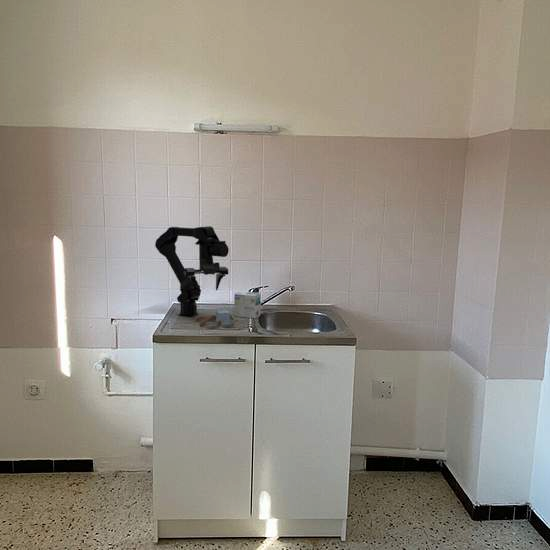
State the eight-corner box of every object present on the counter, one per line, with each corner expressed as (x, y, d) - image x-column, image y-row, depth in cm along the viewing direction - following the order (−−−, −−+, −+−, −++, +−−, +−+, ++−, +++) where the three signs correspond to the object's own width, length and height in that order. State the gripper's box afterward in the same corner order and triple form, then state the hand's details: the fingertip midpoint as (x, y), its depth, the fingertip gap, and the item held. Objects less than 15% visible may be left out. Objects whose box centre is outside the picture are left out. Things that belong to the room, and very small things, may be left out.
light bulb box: (260, 315, 223) (261, 292, 221) (255, 319, 216) (256, 295, 214) (239, 313, 226) (239, 290, 224) (233, 316, 220) (233, 293, 218)
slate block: (218, 324, 205) (218, 313, 205) (215, 321, 210) (216, 310, 209) (230, 323, 207) (230, 312, 206) (227, 320, 212) (227, 309, 211)
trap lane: (202, 329, 197) (202, 324, 197) (195, 321, 209) (195, 316, 209) (240, 327, 202) (240, 322, 202) (231, 319, 215) (231, 314, 214)
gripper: (187, 258, 200) (188, 295, 202) (231, 257, 206) (231, 292, 208) (183, 255, 210) (183, 290, 213) (225, 254, 216) (225, 288, 219)
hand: (206, 290), depth 213 cm, fingers open, 9 cm apart
